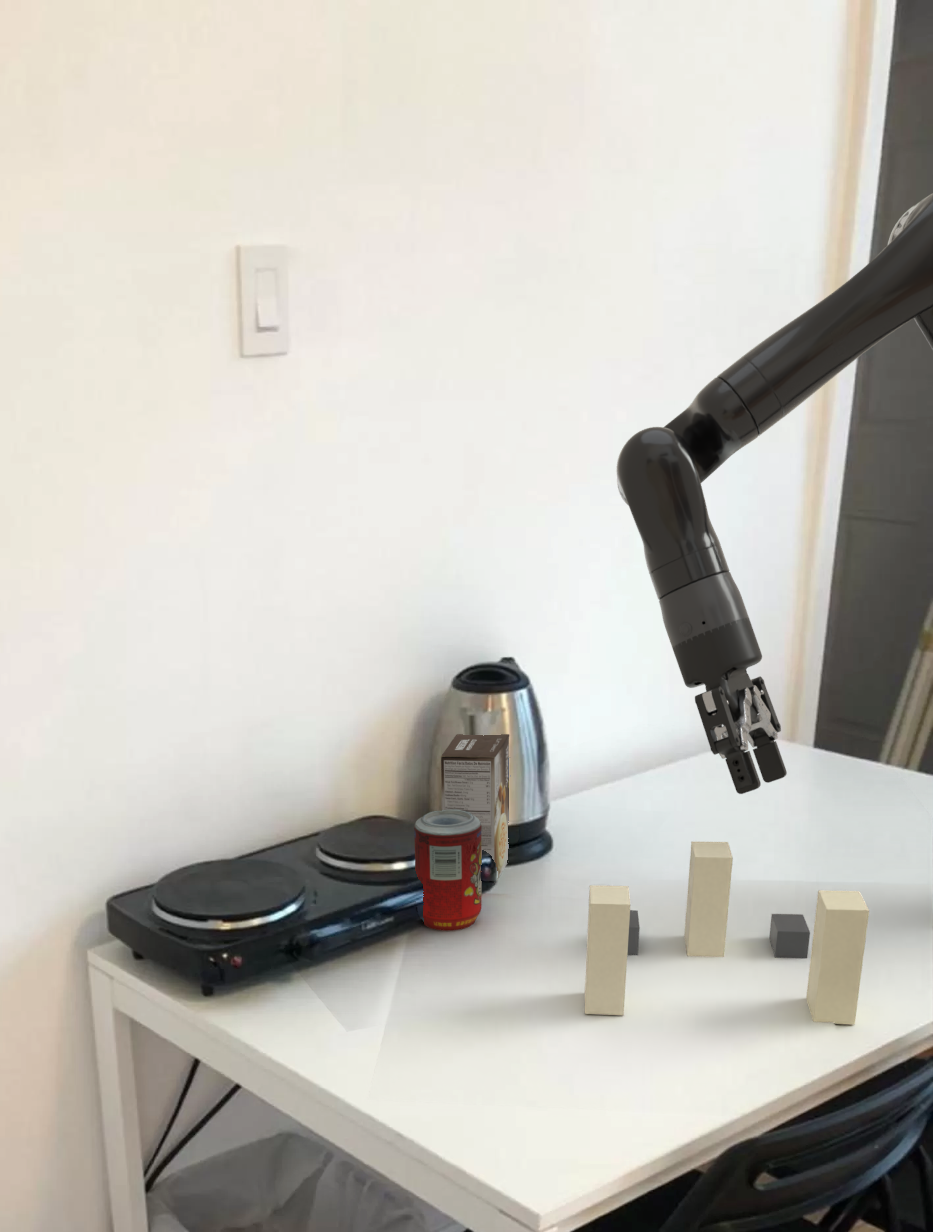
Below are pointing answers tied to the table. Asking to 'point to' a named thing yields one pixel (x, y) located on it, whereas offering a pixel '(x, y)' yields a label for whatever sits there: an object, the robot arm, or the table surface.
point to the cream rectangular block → (607, 949)
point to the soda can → (449, 868)
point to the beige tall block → (837, 956)
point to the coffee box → (480, 787)
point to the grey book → (633, 933)
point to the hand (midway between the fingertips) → (763, 785)
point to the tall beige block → (708, 899)
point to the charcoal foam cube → (789, 936)
